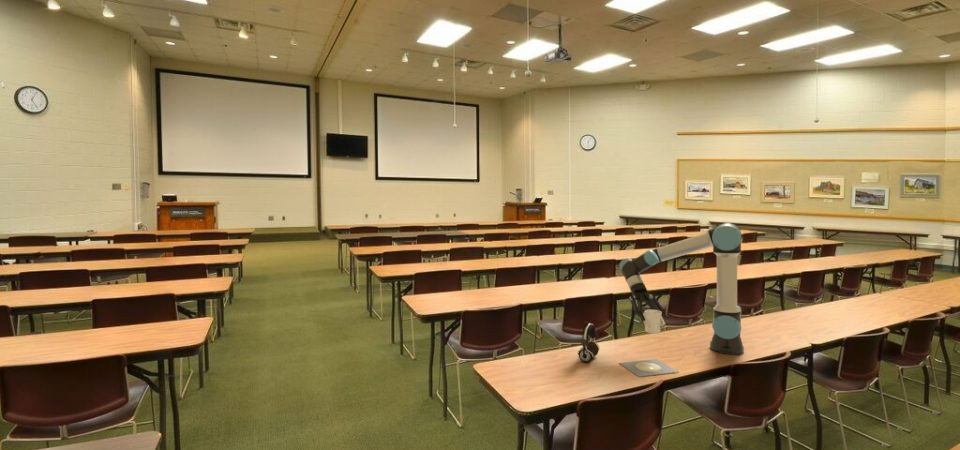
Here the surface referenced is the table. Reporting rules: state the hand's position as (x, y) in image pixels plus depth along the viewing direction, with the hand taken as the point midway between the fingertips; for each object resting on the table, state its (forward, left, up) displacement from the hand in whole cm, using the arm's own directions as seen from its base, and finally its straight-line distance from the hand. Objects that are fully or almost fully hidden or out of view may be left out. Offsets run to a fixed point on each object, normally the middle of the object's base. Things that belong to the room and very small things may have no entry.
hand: (655, 325), depth 220 cm
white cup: (0, -2, -4) cm, 5 cm away
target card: (+11, +11, -16) cm, 22 cm away
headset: (+32, -6, -16) cm, 36 cm away
